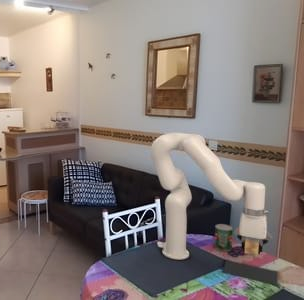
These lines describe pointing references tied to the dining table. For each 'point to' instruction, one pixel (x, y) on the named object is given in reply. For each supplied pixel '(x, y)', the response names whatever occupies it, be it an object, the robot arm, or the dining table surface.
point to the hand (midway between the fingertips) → (251, 251)
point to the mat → (250, 272)
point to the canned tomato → (223, 237)
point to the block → (251, 246)
